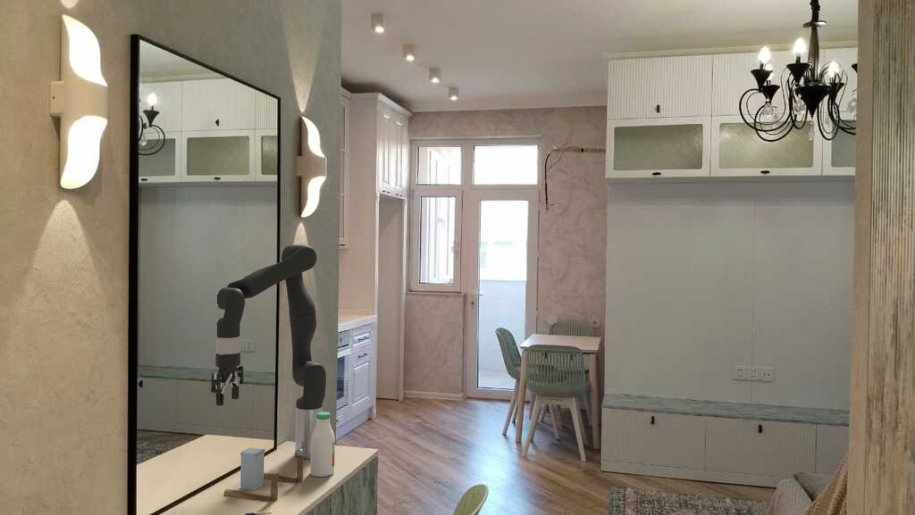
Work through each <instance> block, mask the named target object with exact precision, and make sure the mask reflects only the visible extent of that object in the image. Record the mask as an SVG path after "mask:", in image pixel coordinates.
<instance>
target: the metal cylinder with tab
mask: <svg viewBox="0 0 915 515" xmlns="http://www.w3.org/2000/svg"><path fill="white" fill-rule="evenodd" d="M305 453H306V450H305V448H304V441H303V442H302V448H300V449H298V450H297V451H295V450H294V456H295V458H296V459H297V458H300V457H302V456H303V455H305Z"/></svg>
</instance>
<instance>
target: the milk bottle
mask: <svg viewBox="0 0 915 515" xmlns="http://www.w3.org/2000/svg"><path fill="white" fill-rule="evenodd" d="M331 416H332V415H331V413H330V412H329V411H322V412H319V413H317V414H316V418H317V419H316V420H317V424H316V427H315V430H314V432H313V434H312V438H311V458H310V466H309V467H310V469H309V470H310V475H311V476H312V477H316V478H324V477H326V478H327V477H329V476H332V475H333V474H334V473H335V453H336V452H335V449H336V448H335V447H336V446H335V445H336V444H335V443H336V442H335V441H336V440H335V433H334V431H333V429H332V425H331V422H330V421H331Z"/></svg>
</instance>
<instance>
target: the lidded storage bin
mask: <svg viewBox="0 0 915 515" xmlns="http://www.w3.org/2000/svg"><path fill="white" fill-rule="evenodd" d="M265 452H266V450H265V449H264V448H256V447H255V448H254V447H249V448H247V449H245V450H243V451H241V452H240V481H239V483H240V487H239V488H240V489H243V490H252V491H256V490H257V489H259V488H260V487H262V486H263V485H265V484H264V483H265V481H264V480H265V478H264V473H265Z"/></svg>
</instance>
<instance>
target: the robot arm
mask: <svg viewBox="0 0 915 515" xmlns="http://www.w3.org/2000/svg"><path fill="white" fill-rule="evenodd" d="M317 259H318V255H317V252H316V250H315V248H313V247H312V246H310V245H306V244H288V245H286V246H285V247H284V248H283V250H282V252H281V261H279V262H277V263H274V264H271V265H269V266H265V267H262V268H259V269H257V270H255V271H254V272H251V273H249V274H247V275H246V276H244V277H243V278H241V279H239V280H235V281H232V282H230V283H228V284H229V285H228V286H227V287H224V288H222V289H221V290H220V291H219V293H218V295H217V304H218V307H219V308H220V309H219V308H218V309H219V310H221V311H222V310H224V313H223V317H220V318H219V319H217V321H218V322H217V321H216V326H217V328H216V329H217V339H215V345H216V356H214V357H215V360H214V361H215V362H214V364H215V366H216V368H218V372H212V373H211V383H210V384H211V386H210V392H211V393H213V394H215V405H216V406H217V407H219V406H220V407H221V406H224V403H225V400H224V399H225V395H224V394H225V389H226V388H227V387H228V385H229V384H230V386H231V399H232V400H238V399H239V398H240V388H241V385H243V384H244V365H241V362H242V361H241V357H242V356H241V354H242V353H241V351H242V348H241V346H242V344H241V321H242V318H243V314H244V310H245V305H246V300H247V299H252V298H254V297H256V296H258V295H260V294H261V293H263V292H265V291H266V290H269V288H271V287H273V286H275V285H276V284H278V283H280V282H283V281H284V282H285V286H286V288H285V289H286V294H287V295H286V296H287V303H288V317H289V327H290V333H291V336H290V337H291V338H290V339H291V348H292V350H291V351H292V362H291V364H292V365H291V367H292V368H291V370H292V373H291V375H292V379H293V381H294V383H295V384H296V385H298V386H300V387H303V391H302V392H303V393H302V396H300V397H298V398H297V399H296V400H295V436H294V437H295V438H294V440H295V443H294V445H295V446H294V452H295V451H297V450H298V449H300V448H302V442H303V441H304V448H305V450H306V453H305V455H303V459H311V438H312V434H313V432H314V430H315V427H316V424H317V420H316V419H317V418H316V414H317V413H319V412H323V406H324V405H323V403H324V401H325V398H326V387H327V386H326V385H327V372H326V369H325V368H326V367H324V366H323V365H322V364H321V363H318V362H314V361H313V360H312V359H313V358H312V351H311V350H312V349H311V346H312V341H313V337H315V336H314V335H315V332H316V328H317V311H316V305H315V303H314V301H313V299H312V297H311V294H310V293H309V291H308V289H307V288H306V285H305V282H304V277H303V273H304V272H308V271H310V270H312V269H313V268H314V267H315V265H316V263H317Z"/></svg>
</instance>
